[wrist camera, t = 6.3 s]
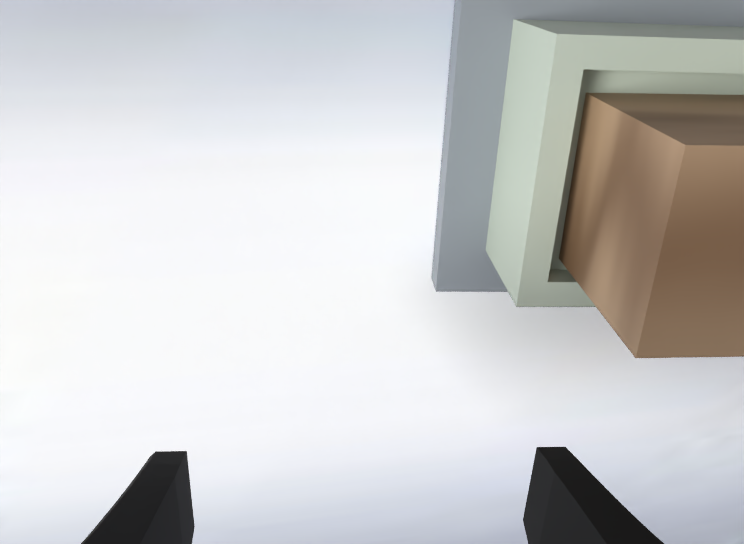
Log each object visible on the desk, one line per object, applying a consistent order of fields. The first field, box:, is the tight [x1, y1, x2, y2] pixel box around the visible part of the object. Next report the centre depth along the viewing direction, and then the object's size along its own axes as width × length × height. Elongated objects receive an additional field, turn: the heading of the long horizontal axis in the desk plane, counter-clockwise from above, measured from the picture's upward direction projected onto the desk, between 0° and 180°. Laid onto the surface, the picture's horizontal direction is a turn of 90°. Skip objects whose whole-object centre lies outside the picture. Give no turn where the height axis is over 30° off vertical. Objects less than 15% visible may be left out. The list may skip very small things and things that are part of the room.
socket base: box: [432, 0, 744, 307], centre depth 19 cm, size 10×10×5 cm
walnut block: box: [559, 93, 744, 358], centre depth 15 cm, size 4×4×5 cm
